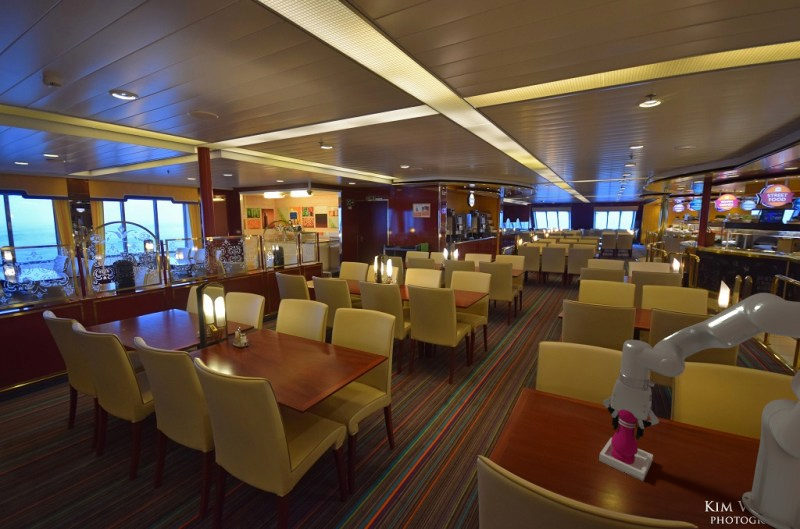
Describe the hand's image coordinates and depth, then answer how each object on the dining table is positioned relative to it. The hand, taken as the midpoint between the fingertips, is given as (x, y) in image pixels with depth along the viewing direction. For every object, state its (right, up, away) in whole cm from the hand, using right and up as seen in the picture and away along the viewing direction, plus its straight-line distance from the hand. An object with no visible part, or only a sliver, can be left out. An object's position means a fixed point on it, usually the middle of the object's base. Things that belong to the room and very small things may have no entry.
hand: (626, 432), depth 110 cm
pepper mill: (0, -9, +2) cm, 9 cm away
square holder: (0, -10, +1) cm, 10 cm away
